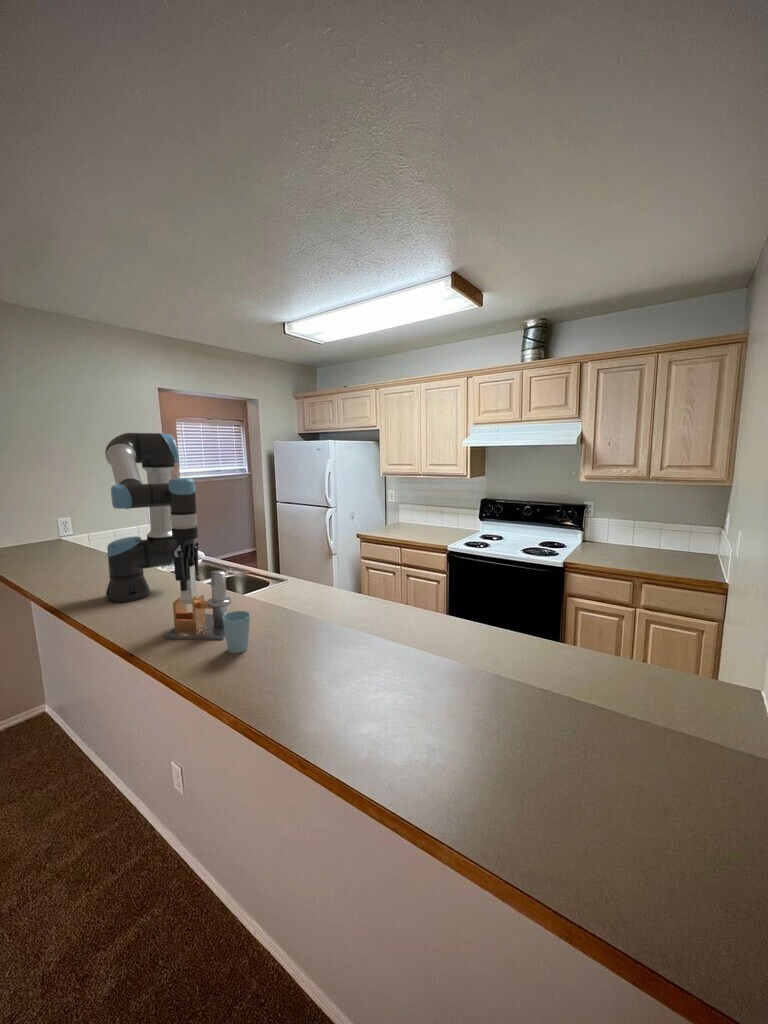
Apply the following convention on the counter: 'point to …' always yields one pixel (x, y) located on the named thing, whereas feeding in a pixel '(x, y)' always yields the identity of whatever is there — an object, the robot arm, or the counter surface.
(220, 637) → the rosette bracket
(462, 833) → the counter surface
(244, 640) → the cup
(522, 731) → the counter surface
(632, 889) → the counter surface
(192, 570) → the light grey block
